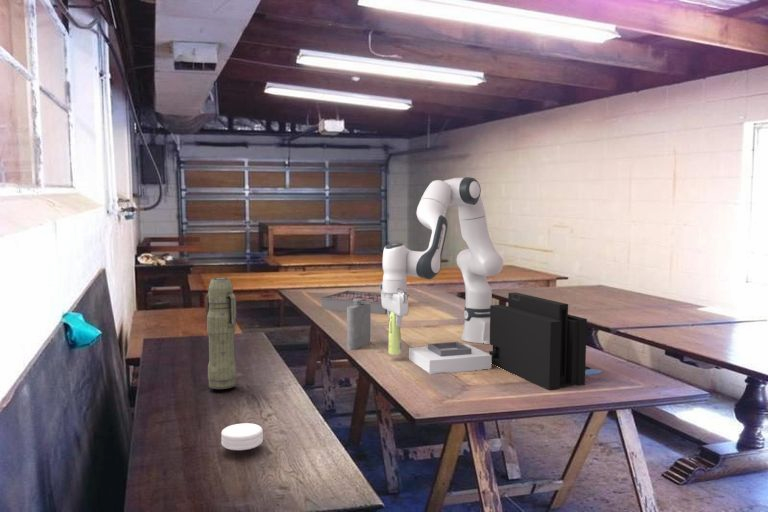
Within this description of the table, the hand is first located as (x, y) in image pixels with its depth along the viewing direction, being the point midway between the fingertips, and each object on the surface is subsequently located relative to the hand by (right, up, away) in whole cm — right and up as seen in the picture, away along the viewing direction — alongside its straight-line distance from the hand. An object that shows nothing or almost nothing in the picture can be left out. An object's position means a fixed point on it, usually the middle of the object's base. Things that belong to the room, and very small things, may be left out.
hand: (394, 323), depth 234 cm
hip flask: (-15, -13, +26) cm, 32 cm away
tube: (0, -11, +1) cm, 11 cm away
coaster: (-39, -21, -78) cm, 90 cm away
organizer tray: (-14, -5, +115) cm, 116 cm away
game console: (+56, -16, -11) cm, 59 cm away
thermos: (-57, -17, -29) cm, 66 cm away
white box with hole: (+20, -15, -3) cm, 25 cm away
